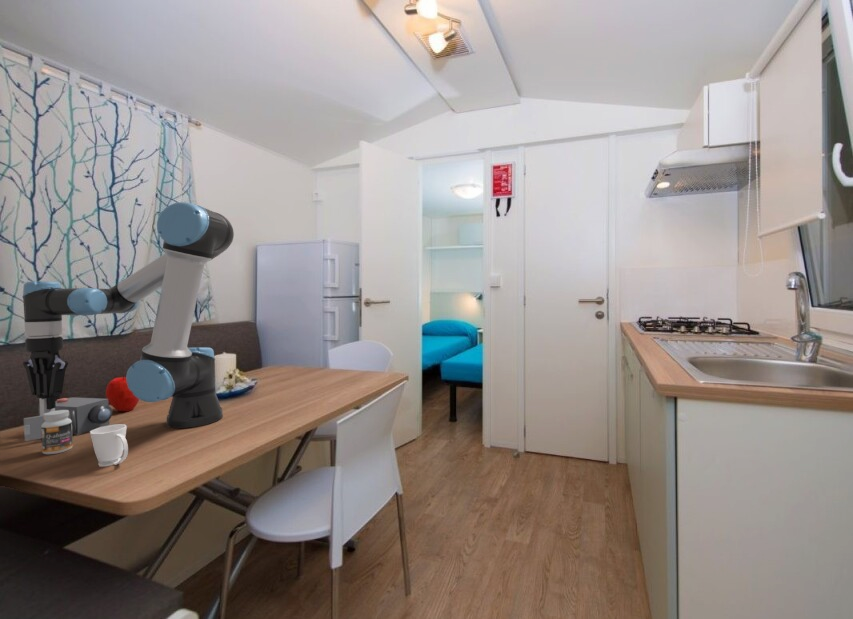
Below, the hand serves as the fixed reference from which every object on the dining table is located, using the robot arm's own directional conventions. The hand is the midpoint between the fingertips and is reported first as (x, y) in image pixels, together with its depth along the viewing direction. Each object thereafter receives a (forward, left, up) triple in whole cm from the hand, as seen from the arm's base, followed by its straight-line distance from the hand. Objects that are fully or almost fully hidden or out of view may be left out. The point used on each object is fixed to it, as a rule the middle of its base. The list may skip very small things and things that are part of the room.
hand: (48, 420), depth 110 cm
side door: (-4, +2, -4) cm, 6 cm away
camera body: (-1, -7, -5) cm, 8 cm away
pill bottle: (-14, +8, -5) cm, 17 cm away
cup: (-37, +12, -5) cm, 39 cm away
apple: (+3, -25, -5) cm, 26 cm away
